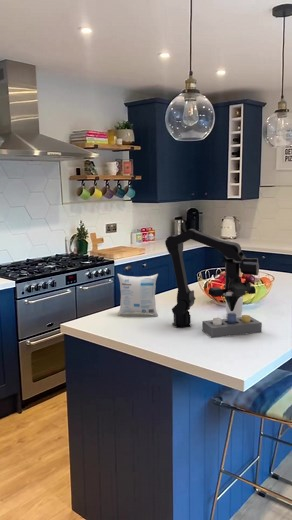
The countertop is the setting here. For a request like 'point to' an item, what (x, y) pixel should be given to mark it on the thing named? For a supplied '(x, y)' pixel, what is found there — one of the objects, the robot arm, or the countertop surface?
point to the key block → (231, 327)
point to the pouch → (137, 294)
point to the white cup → (236, 308)
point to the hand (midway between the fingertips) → (231, 310)
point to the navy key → (231, 318)
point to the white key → (217, 321)
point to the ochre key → (245, 318)
